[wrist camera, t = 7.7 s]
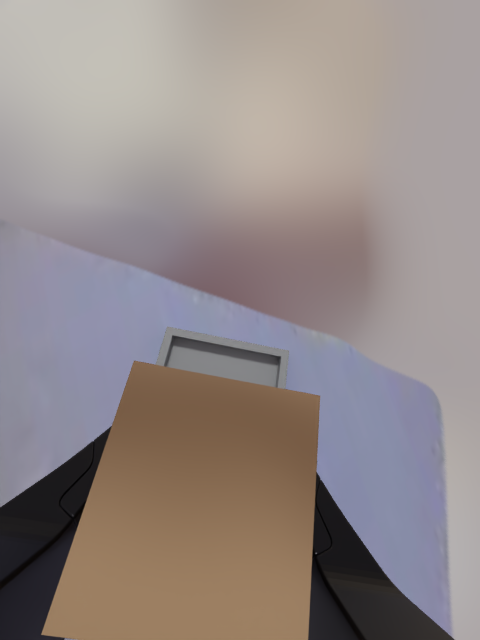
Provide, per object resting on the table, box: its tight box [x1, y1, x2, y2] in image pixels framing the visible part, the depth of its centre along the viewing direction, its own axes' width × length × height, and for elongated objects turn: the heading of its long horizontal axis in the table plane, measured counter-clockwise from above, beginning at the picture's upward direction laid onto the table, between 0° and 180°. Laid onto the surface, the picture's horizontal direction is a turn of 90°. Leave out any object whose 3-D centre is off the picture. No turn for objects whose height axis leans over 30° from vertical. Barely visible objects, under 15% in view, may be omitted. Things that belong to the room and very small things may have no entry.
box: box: [156, 327, 289, 389], centre depth 21 cm, size 14×14×2 cm
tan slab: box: [41, 361, 320, 640], centre depth 10 cm, size 4×7×13 cm, turn 80°
